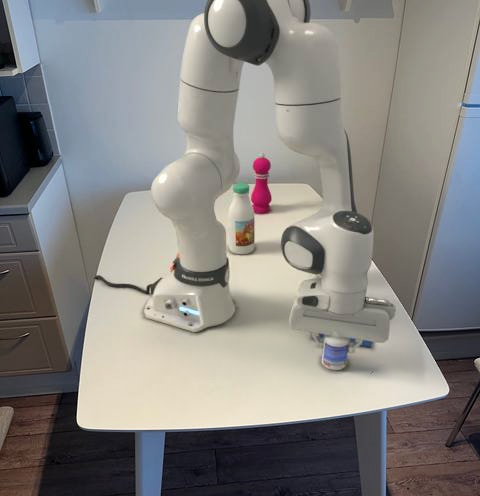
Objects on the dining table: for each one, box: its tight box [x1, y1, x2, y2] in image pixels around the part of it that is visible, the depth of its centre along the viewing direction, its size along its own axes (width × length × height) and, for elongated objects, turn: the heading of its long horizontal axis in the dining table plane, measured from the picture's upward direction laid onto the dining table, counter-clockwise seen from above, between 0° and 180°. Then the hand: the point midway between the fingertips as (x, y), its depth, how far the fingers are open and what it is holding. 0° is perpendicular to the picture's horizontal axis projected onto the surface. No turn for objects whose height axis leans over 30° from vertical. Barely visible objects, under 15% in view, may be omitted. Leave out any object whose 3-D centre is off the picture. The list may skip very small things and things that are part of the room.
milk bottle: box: [227, 182, 256, 255], centre depth 143 cm, size 8×8×20 cm
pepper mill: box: [250, 152, 272, 215], centre depth 167 cm, size 7×7×20 cm
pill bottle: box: [321, 331, 350, 371], centre depth 103 cm, size 5×5×10 cm
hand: (335, 349), depth 104 cm, fingers closed on pill bottle, 5 cm apart
